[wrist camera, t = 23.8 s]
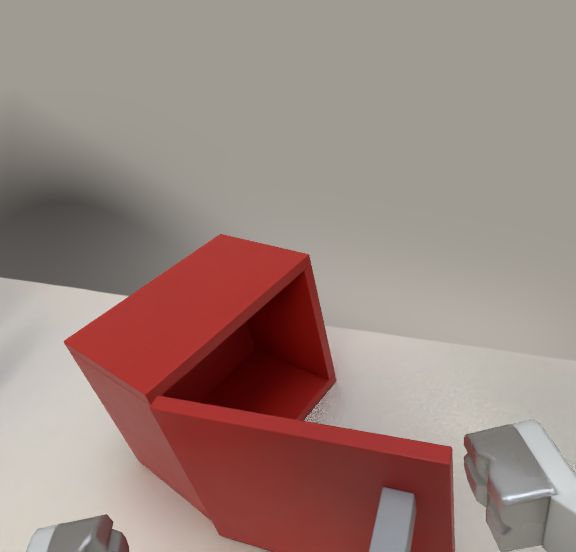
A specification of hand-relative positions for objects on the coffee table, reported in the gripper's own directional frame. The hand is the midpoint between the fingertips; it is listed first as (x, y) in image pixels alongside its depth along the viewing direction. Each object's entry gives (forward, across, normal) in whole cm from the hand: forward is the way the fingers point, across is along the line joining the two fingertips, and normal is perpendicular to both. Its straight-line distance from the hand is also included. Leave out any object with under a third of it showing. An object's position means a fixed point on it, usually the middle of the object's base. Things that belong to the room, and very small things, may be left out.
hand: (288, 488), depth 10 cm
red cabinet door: (+7, +3, +25) cm, 26 cm away
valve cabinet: (+24, +8, +25) cm, 35 cm away
